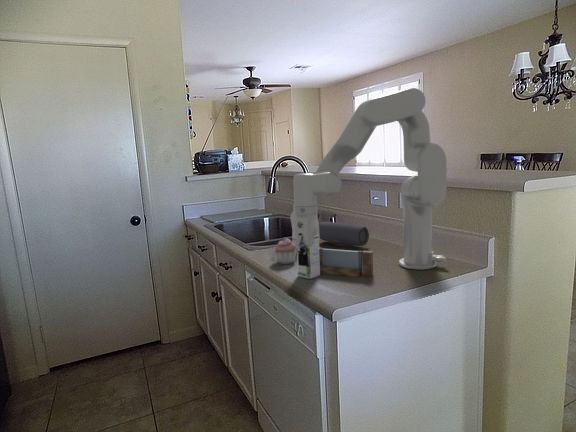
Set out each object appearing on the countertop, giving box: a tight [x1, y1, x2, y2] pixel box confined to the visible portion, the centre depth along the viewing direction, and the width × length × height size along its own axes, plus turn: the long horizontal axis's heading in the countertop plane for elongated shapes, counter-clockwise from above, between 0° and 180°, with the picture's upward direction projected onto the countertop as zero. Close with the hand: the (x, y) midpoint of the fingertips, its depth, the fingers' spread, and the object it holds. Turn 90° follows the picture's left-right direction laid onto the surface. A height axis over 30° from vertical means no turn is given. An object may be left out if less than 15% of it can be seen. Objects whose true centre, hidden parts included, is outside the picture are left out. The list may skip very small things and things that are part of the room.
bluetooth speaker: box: [319, 221, 370, 248], centre depth 168 cm, size 23×9×10 cm, turn 46°
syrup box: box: [296, 234, 321, 280], centre depth 128 cm, size 6×6×14 cm
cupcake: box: [273, 236, 297, 265], centre depth 146 cm, size 9×9×10 cm
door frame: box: [319, 246, 374, 278], centre depth 130 cm, size 23×4×8 cm, turn 63°
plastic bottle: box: [289, 203, 296, 248], centre depth 162 cm, size 6×7×20 cm
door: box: [322, 248, 363, 275], centre depth 131 cm, size 14×1×8 cm, turn 63°
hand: (308, 261), depth 129 cm, fingers closed on syrup box, 7 cm apart
